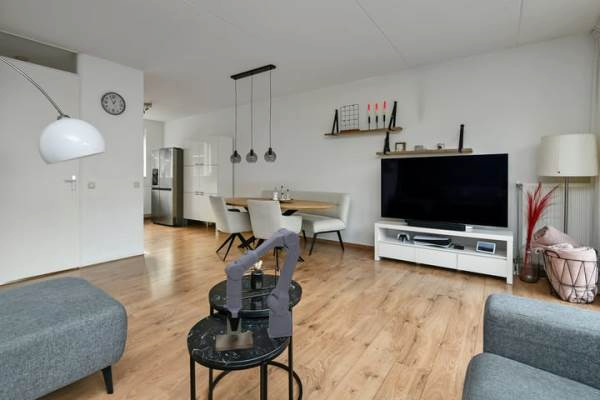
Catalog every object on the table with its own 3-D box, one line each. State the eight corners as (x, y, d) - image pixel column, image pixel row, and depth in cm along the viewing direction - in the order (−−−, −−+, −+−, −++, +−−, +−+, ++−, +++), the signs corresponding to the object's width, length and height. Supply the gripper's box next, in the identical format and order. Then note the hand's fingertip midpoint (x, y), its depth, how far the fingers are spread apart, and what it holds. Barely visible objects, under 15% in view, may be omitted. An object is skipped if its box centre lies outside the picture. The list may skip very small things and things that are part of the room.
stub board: (251, 335, 128) (251, 324, 128) (253, 347, 120) (253, 335, 119) (216, 339, 125) (216, 328, 125) (215, 351, 116) (215, 340, 116)
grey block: (240, 327, 125) (240, 314, 125) (241, 333, 120) (241, 320, 120) (227, 328, 124) (227, 315, 123) (227, 335, 119) (227, 321, 118)
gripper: (223, 287, 127) (223, 319, 128) (223, 301, 113) (223, 337, 114) (241, 286, 129) (241, 318, 130) (243, 300, 114) (243, 335, 116)
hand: (234, 327), depth 122 cm, fingers closed on grey block, 5 cm apart
